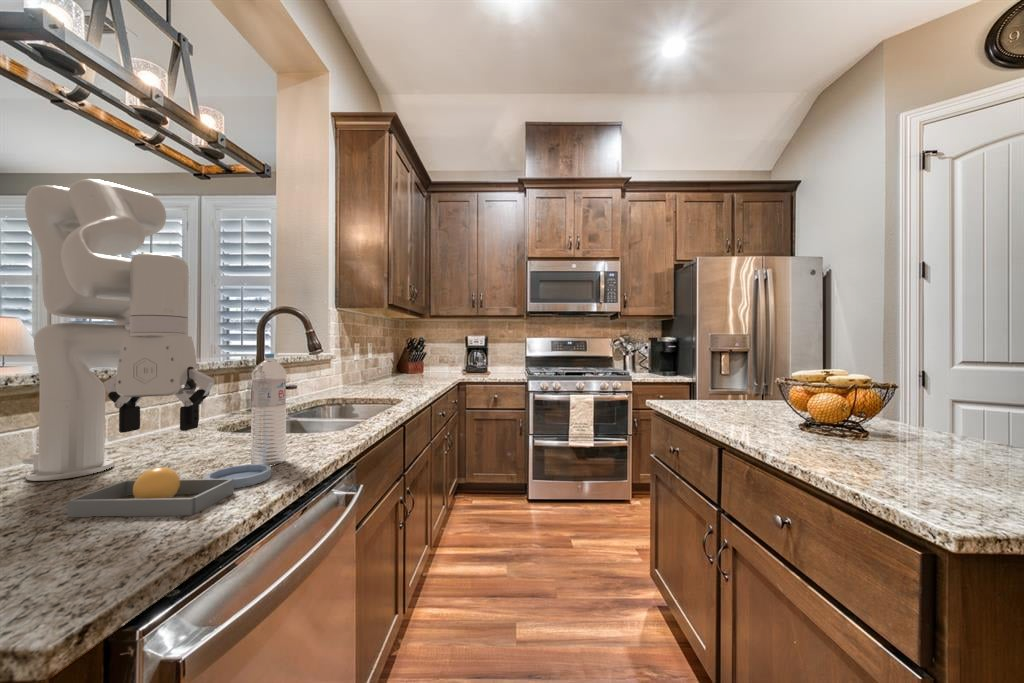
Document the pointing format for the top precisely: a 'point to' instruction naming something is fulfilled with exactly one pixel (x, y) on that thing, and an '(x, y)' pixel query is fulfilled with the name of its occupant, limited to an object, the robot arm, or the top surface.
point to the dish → (243, 474)
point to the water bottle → (268, 413)
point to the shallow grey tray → (150, 500)
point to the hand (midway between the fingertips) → (159, 430)
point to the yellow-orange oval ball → (156, 484)
